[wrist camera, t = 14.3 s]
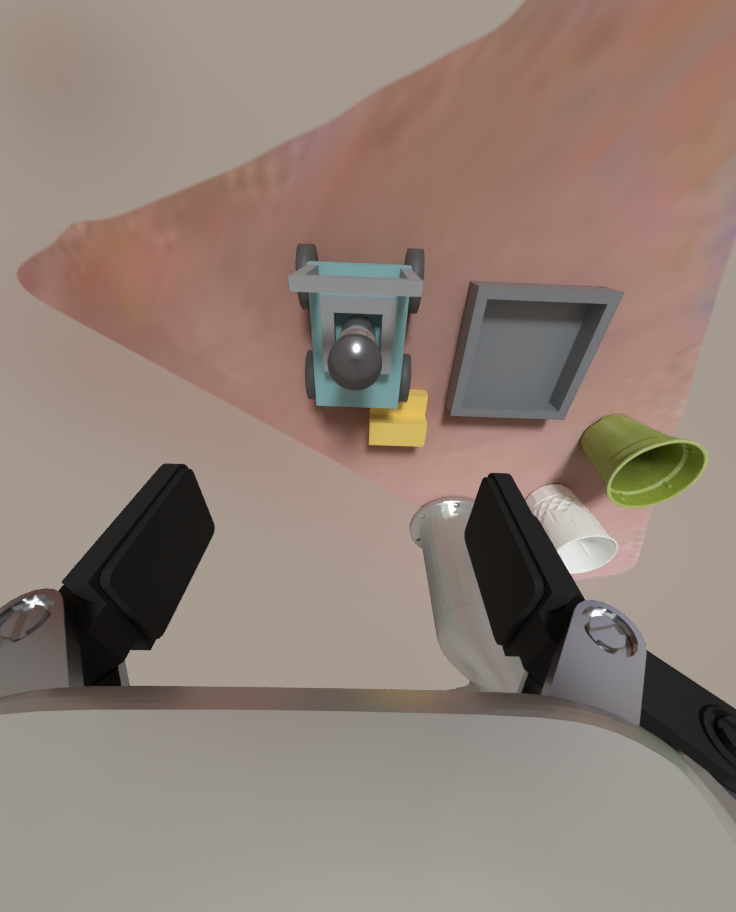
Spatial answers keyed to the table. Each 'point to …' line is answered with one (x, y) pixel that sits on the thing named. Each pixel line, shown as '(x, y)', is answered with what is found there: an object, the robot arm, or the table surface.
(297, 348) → the table surface
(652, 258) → the table surface
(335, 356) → the pin
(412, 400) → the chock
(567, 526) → the white cup
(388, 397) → the trolley
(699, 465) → the plant pot
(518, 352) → the tray
